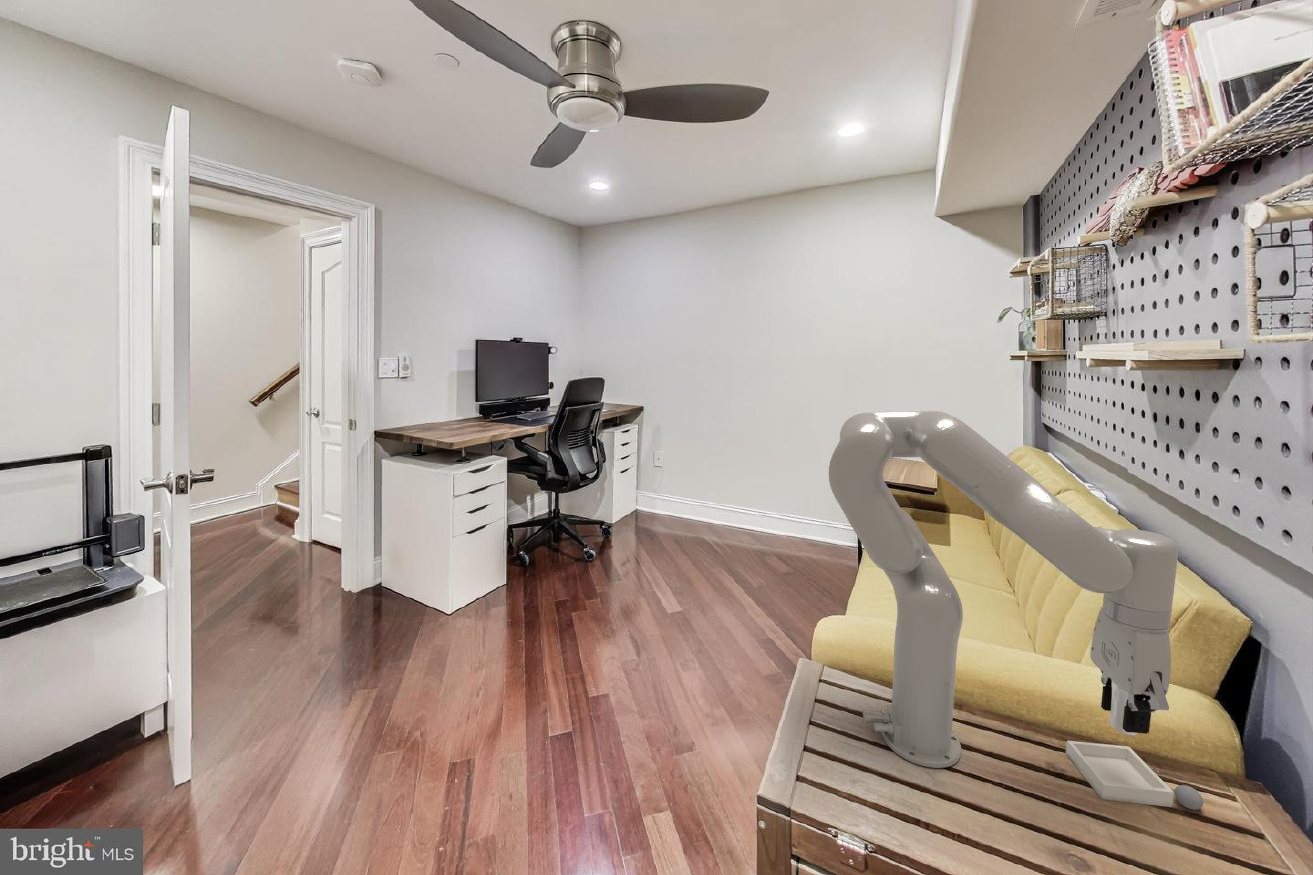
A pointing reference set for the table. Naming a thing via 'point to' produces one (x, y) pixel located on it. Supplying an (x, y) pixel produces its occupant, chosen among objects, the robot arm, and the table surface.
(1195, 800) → the ball
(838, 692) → the table surface
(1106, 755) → the tray
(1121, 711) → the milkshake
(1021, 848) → the table surface
